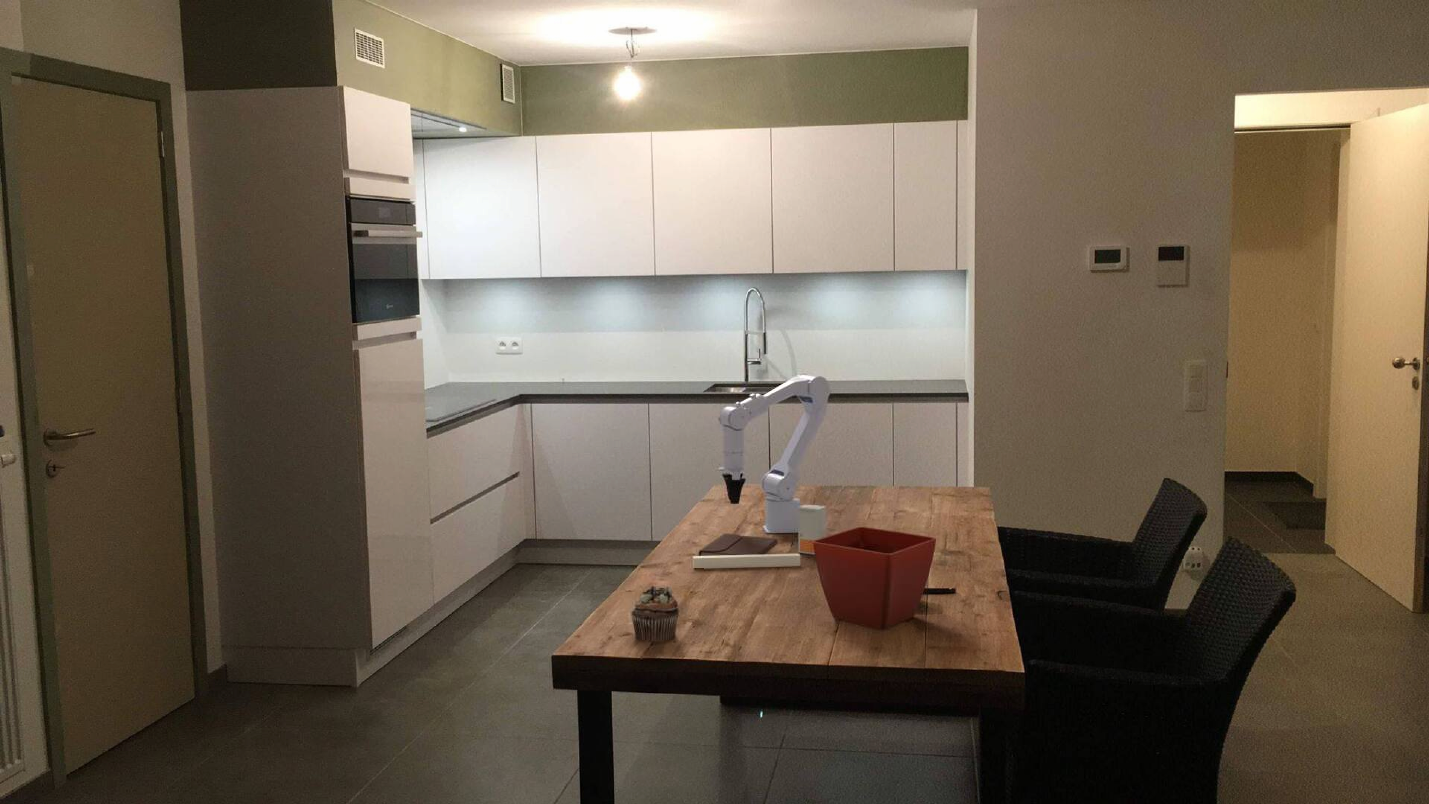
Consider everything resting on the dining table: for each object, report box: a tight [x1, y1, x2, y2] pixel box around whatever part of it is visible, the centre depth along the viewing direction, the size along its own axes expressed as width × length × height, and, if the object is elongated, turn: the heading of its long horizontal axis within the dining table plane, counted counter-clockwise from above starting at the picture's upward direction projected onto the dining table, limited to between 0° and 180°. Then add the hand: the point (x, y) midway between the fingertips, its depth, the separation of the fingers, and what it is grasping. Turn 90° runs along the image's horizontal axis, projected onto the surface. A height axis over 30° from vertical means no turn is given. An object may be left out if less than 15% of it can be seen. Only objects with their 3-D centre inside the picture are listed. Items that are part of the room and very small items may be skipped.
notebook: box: [698, 533, 778, 556], centre depth 321 cm, size 15×20×2 cm
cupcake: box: [630, 585, 680, 643], centre depth 249 cm, size 10×10×10 cm
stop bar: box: [692, 553, 801, 569], centre depth 303 cm, size 26×2×3 cm, turn 95°
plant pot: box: [813, 526, 937, 630], centre depth 260 cm, size 19×19×17 cm
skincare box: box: [797, 504, 827, 556], centre depth 316 cm, size 6×4×12 cm
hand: (733, 501), depth 335 cm, fingers open, 5 cm apart
